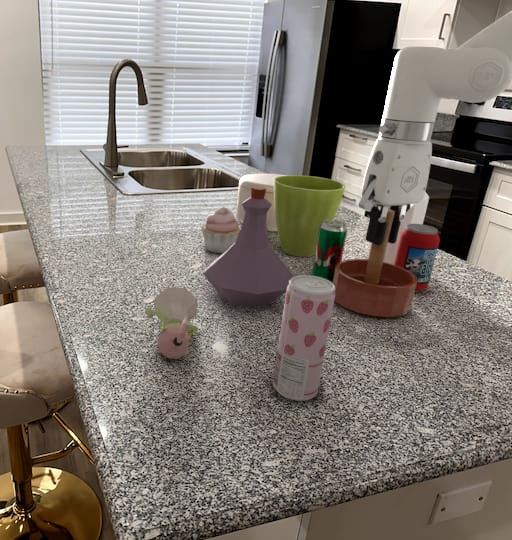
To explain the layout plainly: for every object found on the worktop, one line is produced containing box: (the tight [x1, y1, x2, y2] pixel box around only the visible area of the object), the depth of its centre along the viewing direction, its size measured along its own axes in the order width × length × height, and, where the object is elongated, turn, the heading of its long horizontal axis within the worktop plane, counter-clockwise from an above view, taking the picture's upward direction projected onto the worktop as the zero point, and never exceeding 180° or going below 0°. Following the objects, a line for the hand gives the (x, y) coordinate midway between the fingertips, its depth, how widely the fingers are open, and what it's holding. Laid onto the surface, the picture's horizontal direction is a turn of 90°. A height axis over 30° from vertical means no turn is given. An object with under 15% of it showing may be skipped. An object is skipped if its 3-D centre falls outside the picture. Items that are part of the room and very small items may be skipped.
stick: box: [364, 209, 395, 284], centre depth 88 cm, size 2×2×13 cm
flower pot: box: [274, 174, 346, 258], centre depth 114 cm, size 15×15×16 cm
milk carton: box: [367, 191, 430, 264], centre depth 108 cm, size 7×7×19 cm
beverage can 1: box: [272, 274, 335, 402], centre depth 64 cm, size 6×6×15 cm
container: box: [235, 173, 288, 232], centre depth 135 cm, size 18×18×12 cm
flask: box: [202, 186, 296, 309], centre depth 89 cm, size 16×16×20 cm
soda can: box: [311, 219, 348, 283], centre depth 99 cm, size 5×5×12 cm
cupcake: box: [200, 206, 241, 254], centre depth 114 cm, size 9×9×10 cm
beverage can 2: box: [393, 223, 441, 293], centre depth 98 cm, size 7×7×12 cm
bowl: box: [333, 258, 417, 318], centre depth 91 cm, size 13×13×6 cm
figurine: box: [144, 287, 199, 360], centre depth 76 cm, size 9×7×15 cm
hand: (380, 241), depth 88 cm, fingers closed on stick, 2 cm apart
